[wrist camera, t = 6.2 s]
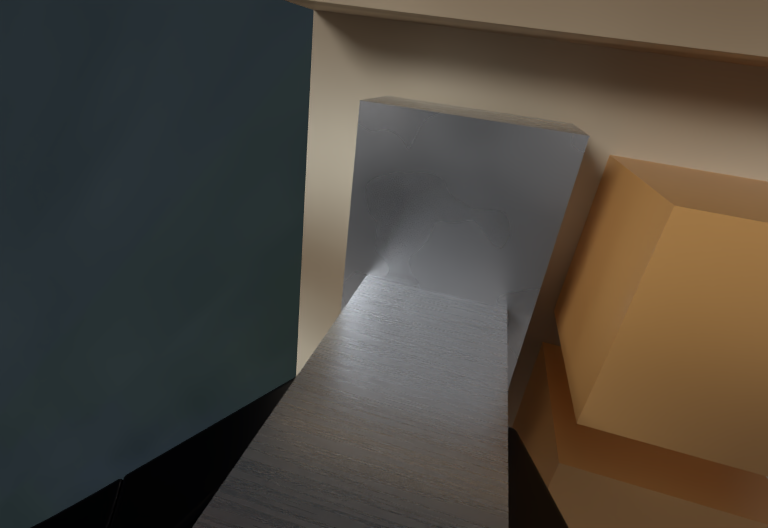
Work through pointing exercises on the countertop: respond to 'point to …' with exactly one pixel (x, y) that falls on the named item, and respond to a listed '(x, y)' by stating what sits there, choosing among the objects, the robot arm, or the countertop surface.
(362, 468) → the scraper
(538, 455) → the matte ochre cube
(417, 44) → the slot block
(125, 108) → the countertop surface
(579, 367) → the tan cardboard cube
